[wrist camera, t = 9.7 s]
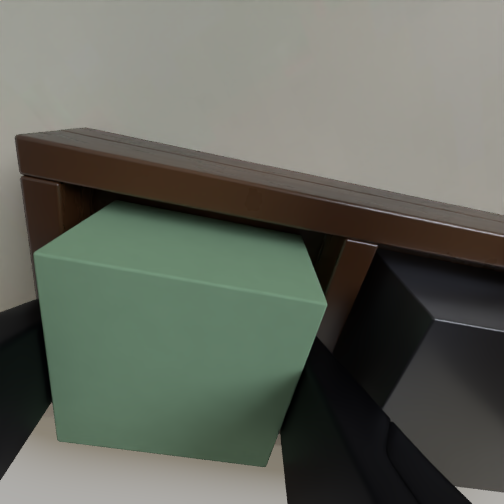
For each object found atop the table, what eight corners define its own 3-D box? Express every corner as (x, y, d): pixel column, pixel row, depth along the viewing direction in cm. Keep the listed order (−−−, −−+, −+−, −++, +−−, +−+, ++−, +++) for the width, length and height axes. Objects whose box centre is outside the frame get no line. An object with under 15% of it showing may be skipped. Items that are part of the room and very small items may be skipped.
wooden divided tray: (565, 228, 9) (798, 315, 5) (447, 395, 13) (536, 526, 9) (84, 127, 8) (-78, 141, 4) (92, 341, 11) (7, 464, 7)
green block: (301, 235, 8) (328, 304, 5) (262, 366, 10) (266, 468, 7) (115, 199, 8) (30, 252, 5) (115, 343, 10) (56, 442, 7)
